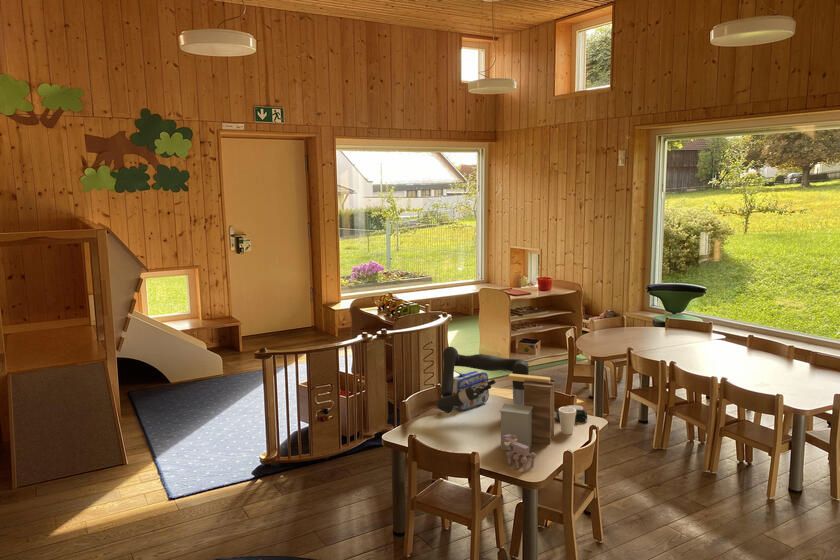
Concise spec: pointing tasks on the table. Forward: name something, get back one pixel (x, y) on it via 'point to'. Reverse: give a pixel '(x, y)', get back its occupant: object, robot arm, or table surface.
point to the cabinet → (541, 409)
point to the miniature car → (577, 413)
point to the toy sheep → (517, 451)
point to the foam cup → (567, 419)
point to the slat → (528, 378)
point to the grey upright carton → (516, 423)
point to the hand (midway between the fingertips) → (492, 383)
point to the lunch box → (467, 381)
